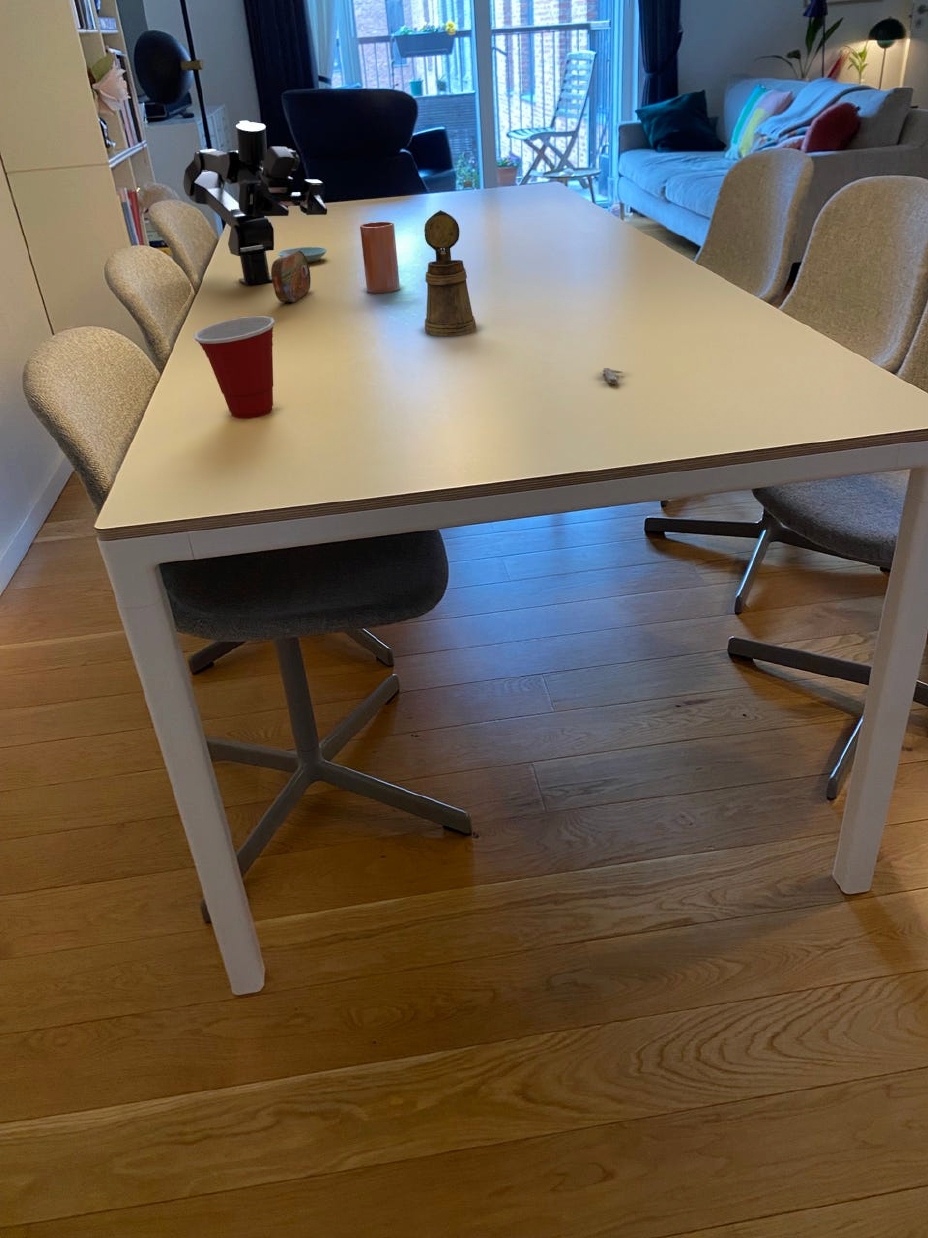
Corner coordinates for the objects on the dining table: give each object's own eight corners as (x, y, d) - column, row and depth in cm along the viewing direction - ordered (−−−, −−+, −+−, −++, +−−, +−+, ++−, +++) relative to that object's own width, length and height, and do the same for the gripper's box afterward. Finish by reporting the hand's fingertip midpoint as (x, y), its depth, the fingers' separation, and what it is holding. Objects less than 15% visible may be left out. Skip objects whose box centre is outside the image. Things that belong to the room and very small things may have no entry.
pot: (361, 289, 189) (354, 224, 182) (390, 283, 192) (384, 220, 185) (376, 294, 184) (368, 228, 177) (405, 288, 187) (399, 223, 180)
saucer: (323, 254, 226) (322, 244, 225) (332, 262, 216) (331, 251, 215) (276, 259, 223) (274, 250, 222) (283, 268, 214) (281, 257, 212)
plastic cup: (217, 402, 131) (199, 317, 124) (292, 396, 131) (278, 311, 125) (205, 429, 121) (185, 338, 115) (286, 422, 122) (270, 331, 116)
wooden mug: (472, 315, 165) (466, 207, 155) (478, 334, 154) (472, 219, 144) (423, 318, 165) (414, 211, 155) (425, 338, 153) (416, 224, 144)
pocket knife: (629, 380, 126) (608, 378, 126) (628, 386, 127) (607, 384, 126) (621, 368, 131) (601, 366, 131) (620, 373, 132) (600, 372, 131)
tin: (288, 306, 180) (281, 261, 175) (273, 306, 180) (266, 262, 176) (313, 289, 192) (307, 246, 188) (300, 289, 193) (293, 247, 188)
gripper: (224, 140, 173) (271, 168, 166) (304, 142, 185) (351, 168, 178) (221, 200, 180) (265, 230, 173) (298, 199, 192) (343, 226, 185)
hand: (307, 212), depth 177 cm, fingers open, 9 cm apart
